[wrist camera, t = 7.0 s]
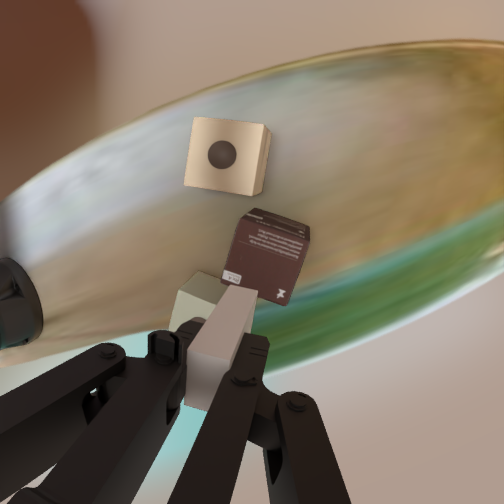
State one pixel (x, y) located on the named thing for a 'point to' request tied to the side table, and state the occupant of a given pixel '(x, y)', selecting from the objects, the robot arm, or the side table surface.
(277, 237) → the box
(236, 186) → the beech block marked
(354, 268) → the side table surface
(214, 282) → the sage block partly covered
